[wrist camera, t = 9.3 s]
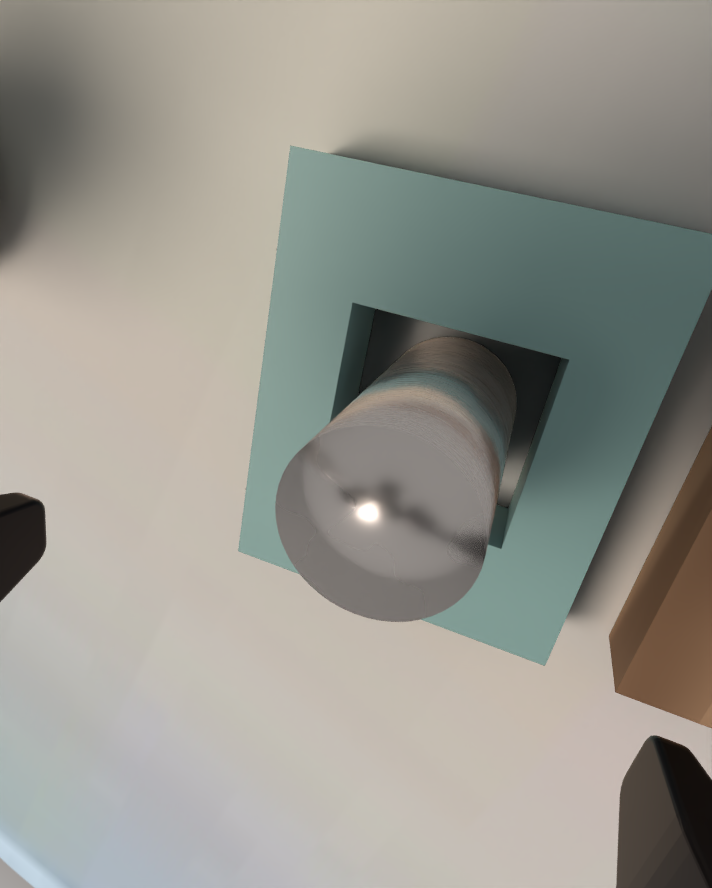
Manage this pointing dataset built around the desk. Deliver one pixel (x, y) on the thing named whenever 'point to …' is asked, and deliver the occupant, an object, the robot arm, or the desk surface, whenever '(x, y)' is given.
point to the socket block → (673, 609)
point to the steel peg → (403, 484)
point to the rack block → (491, 316)
